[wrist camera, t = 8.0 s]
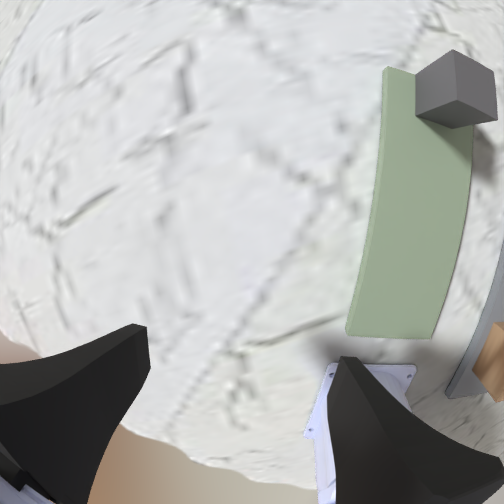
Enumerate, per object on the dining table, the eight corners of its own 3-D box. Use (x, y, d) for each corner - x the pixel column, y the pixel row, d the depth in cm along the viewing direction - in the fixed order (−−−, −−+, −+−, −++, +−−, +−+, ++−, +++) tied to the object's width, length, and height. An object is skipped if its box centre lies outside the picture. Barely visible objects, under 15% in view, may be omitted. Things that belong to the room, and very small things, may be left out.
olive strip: (424, 333, 18) (458, 378, 13) (344, 328, 19) (363, 382, 13) (465, 101, 13) (515, 86, 8) (382, 70, 14) (419, 34, 8)
